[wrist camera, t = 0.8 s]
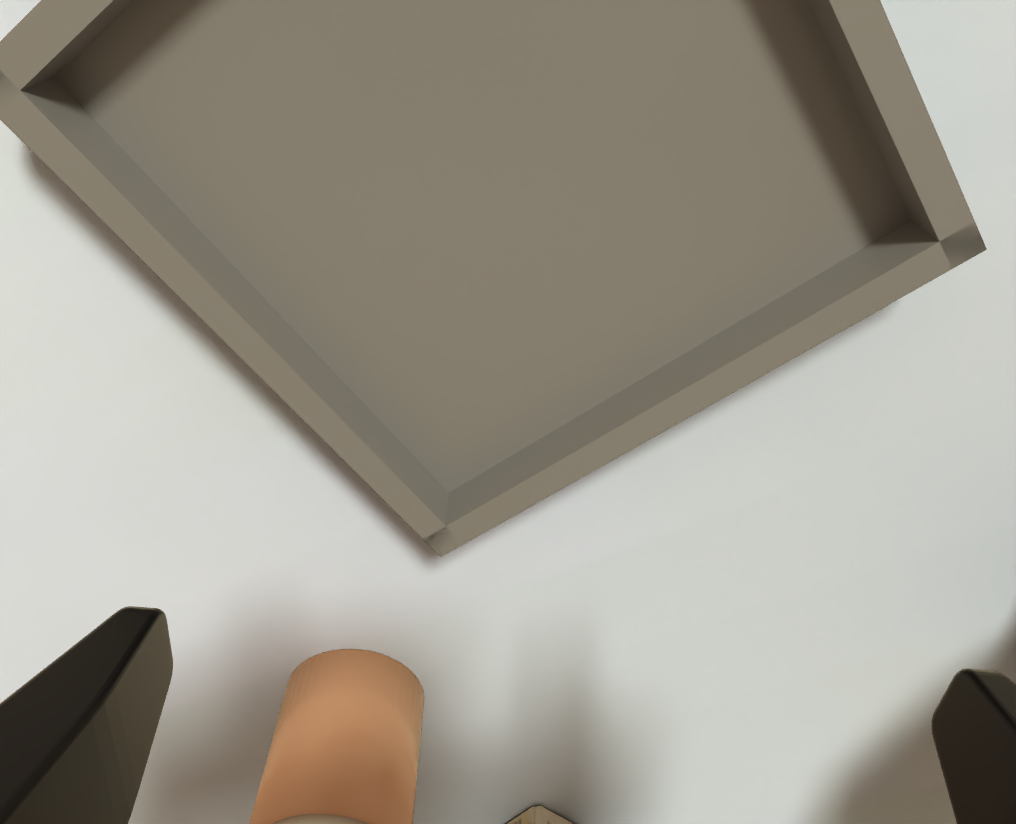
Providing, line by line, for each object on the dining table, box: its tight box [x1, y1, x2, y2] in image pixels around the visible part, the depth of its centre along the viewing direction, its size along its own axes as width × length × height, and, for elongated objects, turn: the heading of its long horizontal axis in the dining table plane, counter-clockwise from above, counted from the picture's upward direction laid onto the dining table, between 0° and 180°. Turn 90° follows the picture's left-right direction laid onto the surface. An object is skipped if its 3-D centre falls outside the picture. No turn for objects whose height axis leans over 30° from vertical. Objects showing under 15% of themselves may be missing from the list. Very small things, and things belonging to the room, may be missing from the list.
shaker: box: [250, 649, 424, 824], centre depth 27 cm, size 5×5×7 cm
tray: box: [0, 0, 986, 557], centre depth 19 cm, size 16×16×2 cm
